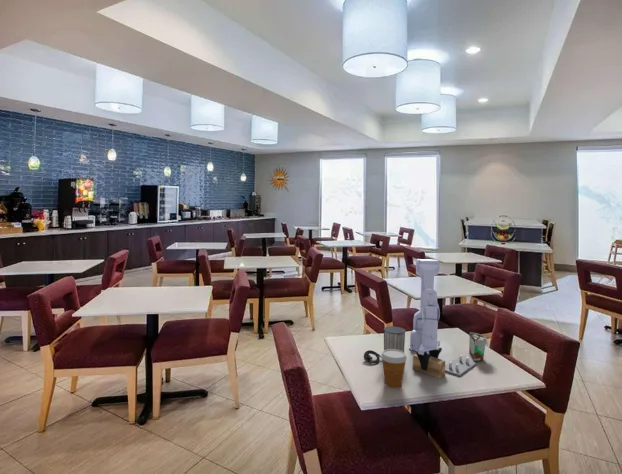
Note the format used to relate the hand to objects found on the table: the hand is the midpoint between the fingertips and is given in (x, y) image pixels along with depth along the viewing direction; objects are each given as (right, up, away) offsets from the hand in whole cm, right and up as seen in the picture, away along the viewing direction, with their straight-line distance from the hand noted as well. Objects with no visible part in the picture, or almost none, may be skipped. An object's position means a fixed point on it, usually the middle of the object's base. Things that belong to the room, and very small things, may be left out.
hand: (428, 367), depth 158 cm
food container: (+27, -1, +14) cm, 30 cm away
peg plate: (+14, -2, +4) cm, 15 cm away
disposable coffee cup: (-17, -3, -11) cm, 21 cm away
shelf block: (0, -2, 0) cm, 2 cm away
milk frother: (-16, -1, +9) cm, 19 cm away
